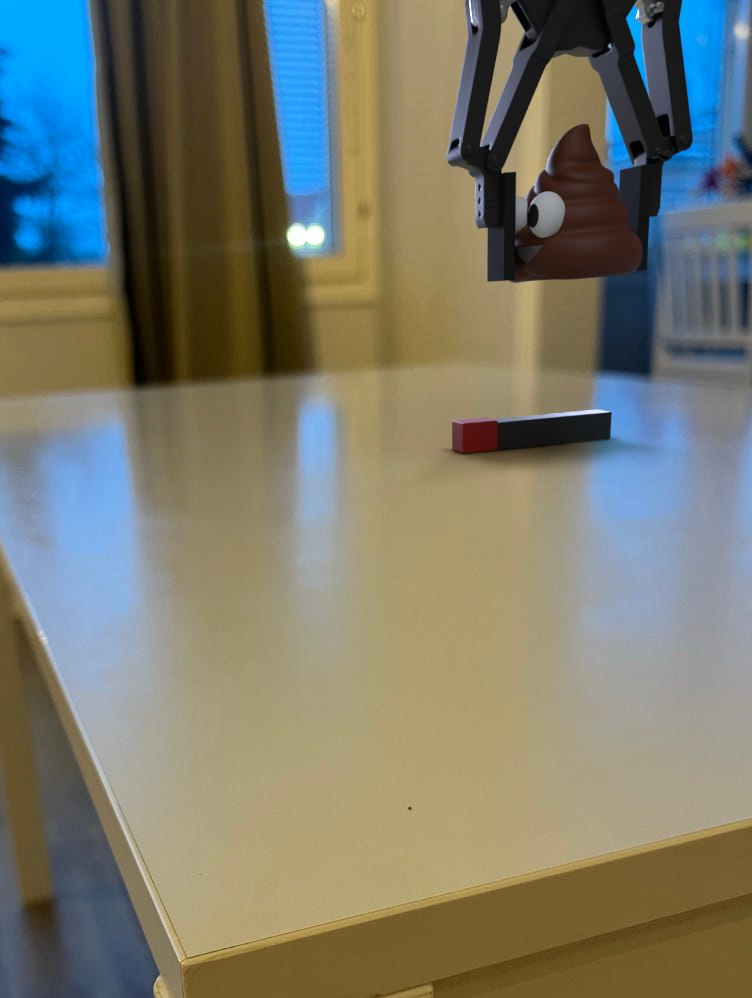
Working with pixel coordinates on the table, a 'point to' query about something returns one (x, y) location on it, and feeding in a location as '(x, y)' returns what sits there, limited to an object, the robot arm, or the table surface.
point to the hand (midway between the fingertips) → (566, 275)
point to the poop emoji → (574, 218)
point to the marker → (529, 430)
